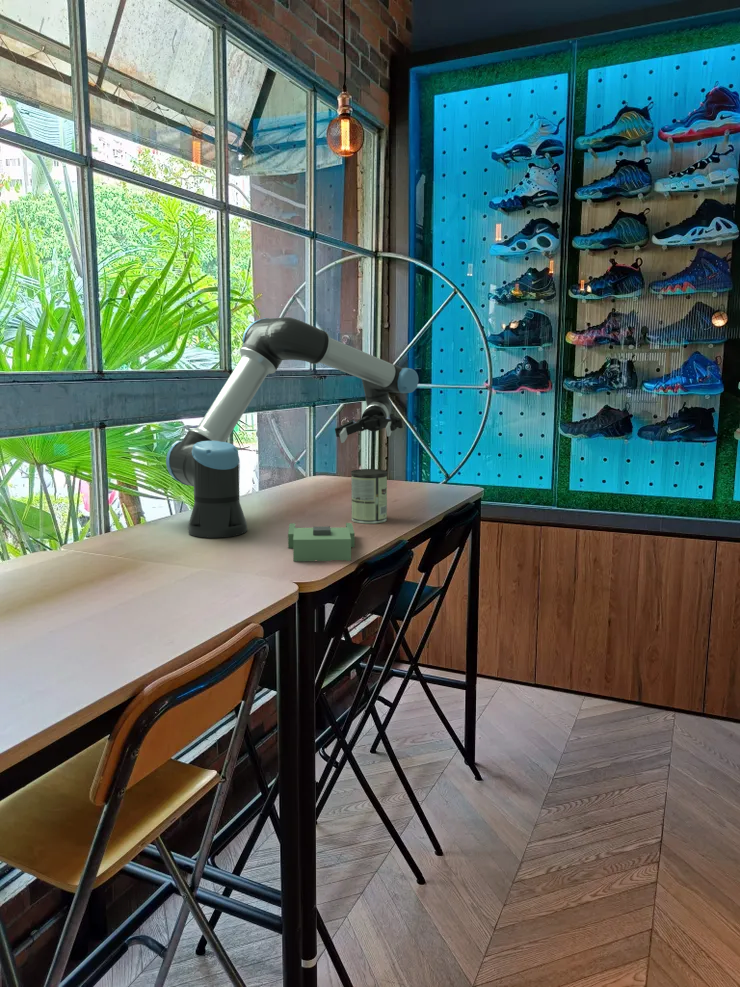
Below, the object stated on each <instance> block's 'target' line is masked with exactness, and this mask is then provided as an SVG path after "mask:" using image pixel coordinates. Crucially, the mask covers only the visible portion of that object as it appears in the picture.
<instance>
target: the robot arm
mask: <svg viewBox="0 0 740 987" xmlns="http://www.w3.org/2000/svg"><path fill="white" fill-rule="evenodd" d="M242 342H243V344H242V346H241V347H240V349H239V354H240V359H239V361H238V363H237V365H236V366H235V367H234V369H233V371H231V374H230V376H229V377H228V379H227V380H226V382H225V383H224V385H223V386H222V388H221V390H220V391H219V393H218V395H217V396H216V397H215V399H214V401H213V402H212V403H211V405H210V407H209V408H208V410H207V412H206V414H205V415H204V416H203V418H202V420H201V421H200V423H199V425H198V426H197V427H195V428H190V429H189V430H188V431H187V433H186V434H185V435H184V438H183V439H182V440H181V441H180V440H179V441H178V442H175V444H173V445H172V446H171V447H170V448H169V449H168V451H167V454H166V458H165V466H166V469H167V472H168V474H169V475H170V476H171V477H172V479H174V480H176V481H177V482H179V483H180V484H182V485H185V486H191V487H193V498H194V501H193V506H192V510H191V514H190V517H189V521H188V526H187V528H188V529H187V530H188V531H187V532H188V535H190V536H193V537H198V538H209V539H210V538H212V539H215V538H216V539H217V538H231V537H235V536H240V535H243V534H245V533H246V532H247V530H248V527H247V526H248V523H247V519H246V517H245V514H244V512H243V509H242V506H241V500H240V457H239V449H238V448H237V446H236V445H234V444H233V443H230V442H227V441H228V438H229V437H230V435H231V434H232V432H233V431H234V429H235V427H236V426H237V425H238V422H239V421H240V420H241V418H242V416H243V415H244V413H245V411H246V410H247V409H248V406H249V405H250V404H251V402H252V400H253V399H254V397H255V395H256V394H257V392H258V390H259V389H260V387H261V386H262V384H263V382H264V381H265V380H266V377H267V375H271V374H274V373H276V371H277V370H278V368H279V367H280V365H281V363H282V362H283V361H292V360H293V361H301V362H307V363H310V364H312V365H317V364H319V363H320V364H323V365H325V366H328V367H330V368H333V369H335V370H338V371H340V372H344V373H346V374H349V375H351V376H354V377H357V378H358V379H361V382H362V387H363V391H364V396H365V403H366V408H365V409H364V411H363V413H362V415H361V418H359V419H358V420H356V421H355V419H351V420H349V421H348V422H346V423H344V424H342V425H340V426H338V427H336V428H334V432H335V437H336V438H339V439H340V443H341V444H342V443H343V444H344V443H345V441H346V440H347V438H348V436H349V435H352V434H354V433H357V432H364V431H366V430H368V431H369V432H378V431H380V430H382V429H385V431H386V436H387V437H391V435H392V432H393V431H395V430H397V428H398V429H403V428H404V426H403V420H402V418H400V417H398V416H396V415H394V413H392V410H393V402H392V400H391V399H390V395H389V393H398V394H399V393H400V394H403V395H404V394H409V393H413V392H414V391H416V390H417V387H418V385H419V375H418V373H417V371H416V370H414V369H413V368H409V367H402V366H398V365H397V364H394V363H391V362H390V361H387V360H384V359H382V358H379V357H377V356H375V355H372V354H369V353H367V352H365V351H362V350H360V349H359V348H356V347H354V346H351V345H348V344H346V343H344V342H341V341H339V340H337V339H335V338H332V337H330V335H329V334H328V332H326V331H325V330H323V329H320V328H317V327H316V326H313V325H312V324H309V323H307V322H305V321H303V320H300V319H297V318H293V317H284V316H283V317H276V318H265V317H264V318H260V319H257V320H255V321H253V322H251V323H250V324H249V325H248V326H247V327H246V328H245V330H244V332H243V335H242Z"/></svg>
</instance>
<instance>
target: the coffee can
mask: <svg viewBox="0 0 740 987" xmlns="http://www.w3.org/2000/svg"><path fill="white" fill-rule="evenodd" d="M388 474H389V473H388V470H385V469H377V468H361V469H355V470H352V471H350V475H351V521H352V522H353V523H357V524H367V525H371V524H373V525H374V524H382V523H386V522H387V520H388V516H387V515H388V512H387V511H388Z"/></svg>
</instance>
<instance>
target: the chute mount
mask: <svg viewBox="0 0 740 987" xmlns="http://www.w3.org/2000/svg"><path fill="white" fill-rule="evenodd" d="M355 540H356V539H355V530H354V527H353V523H352V522H345V527H331V526H330V525H329V526H328V525H327V526H313V527H296V523H293V522H292V523H289V524H288V533H287V546H288V547H287V548H288V549H293V550H292V551H293V553H292V554H293V556H292V558H293V562H332V561H331V560H342V561H341V562H343V560H346V561H348V562H350V561H351V562H352V548H351V547H353V548H355V545H356V544H355V542H356V541H355ZM315 560H317V561H315ZM346 561H345V562H346Z"/></svg>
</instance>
